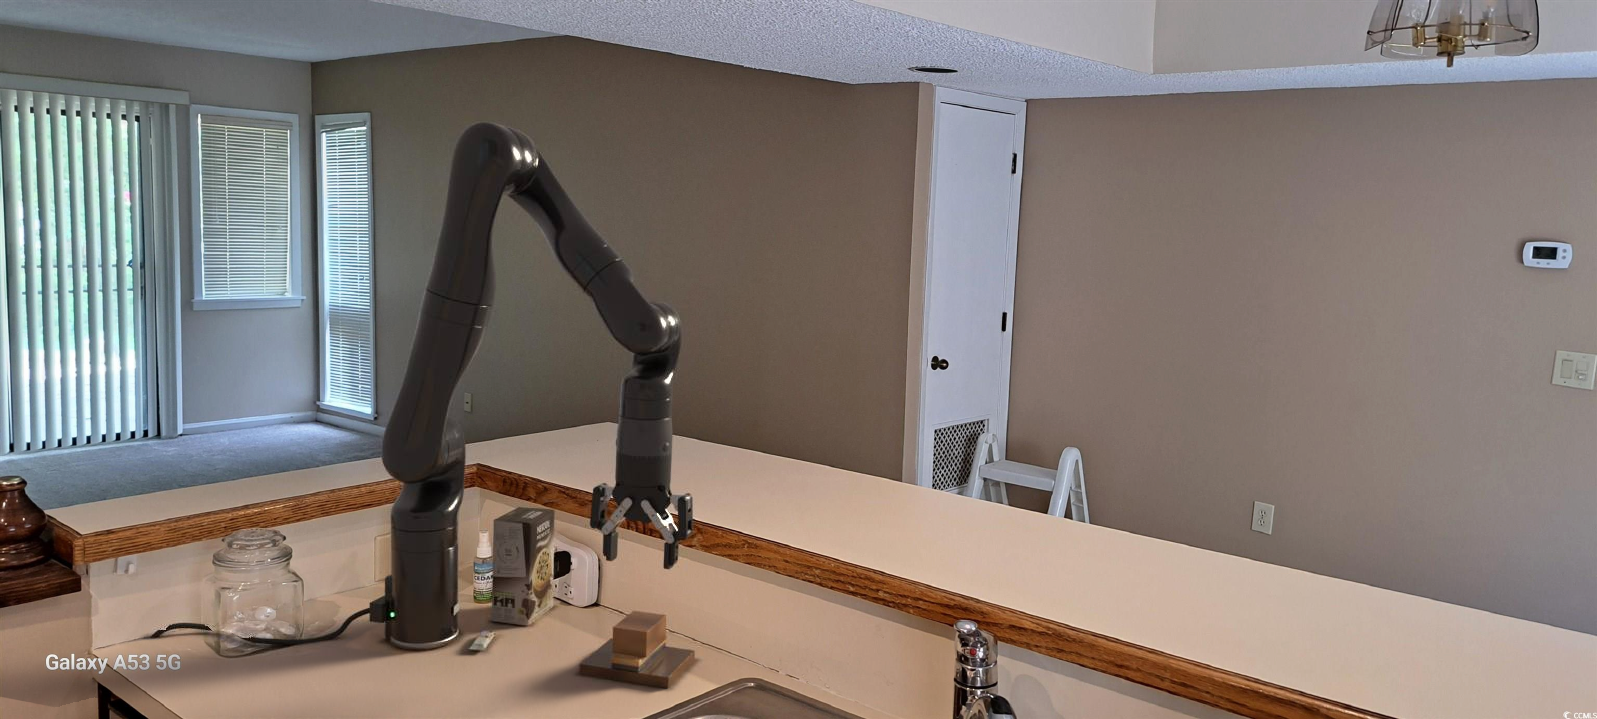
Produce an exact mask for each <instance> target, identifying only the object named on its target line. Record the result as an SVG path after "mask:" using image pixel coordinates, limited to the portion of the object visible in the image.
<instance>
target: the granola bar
mask: <svg viewBox="0 0 1597 719" xmlns="http://www.w3.org/2000/svg"><path fill="white" fill-rule="evenodd" d="M497 634H498V632H494V631H493V630H482V631H481V632H480V633H479V635H478V636H477V637H476V639H475V640H474V641H473V642H472V644H471V645H470V647H468V650H472V651H485V650H486V648H487V646H488V645H489V644H490V643H491V641H492V640H493V638H494V636H495V635H497Z"/></svg>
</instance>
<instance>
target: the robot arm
mask: <svg viewBox="0 0 1597 719" xmlns="http://www.w3.org/2000/svg"><path fill="white" fill-rule="evenodd" d="M503 195H505V196H506V197H507V198H508V199H510V200H511V201H513V202H514V203H515V204H516V205H518V206H519V207H520V208H521V209H522V210H523V211H524V212H525V213H527V215H528V216H529V217H530V218H531V219H532V221H533V222H534V223H535V224H536V226H537V227H538V229H539V230H540V231H541V233H542V235H543V237H544V238H545V241H546V243H547V245H548V247H549V249H550V251H551V253H552V255H553V257H554V258H555V260H556V262H557V263H558V265H559V267H560V268H561V269H562V271H564V273H565V274H566V275H567V277H568V278H569V279H570V280H571V281H572V283H574V285H575V286H576V287H577V288H578V289H579V291H580V292H582V294H584V296H585V297H586V298H587V299H588V300H589V301H590V302H591V303H592V305H593V307H594V309H595V311H596V313H597V315H598V317H599V318H600V320H601V322H602V324H603V325H604V327H605V329H606V330H607V332H608V333H609V335H610V336H611V337H612V339H613V340H614V341H615V342H616V343H617V345H619V346H620V347H621V348H622V349H623V350H624V351H626V352H627V353H629V354H631V355H632V359H631V365H630V369H628V371H627V372H626V374H624V376H623V377H622V379H621V383H620V390H619V416H618V423H617V428H616V439H615V446H616V449H615V470H614V471H615V474H614V475H615V476H614V479H615V484H614V486H611V485H610V486H609V484H607V483H606V482H603V483H600V484H598V485H596V486H594V487H593V488H592V494H591V495H592V496H591V507H590V508H591V509H590V516H589V517H590V518H589V527H590V528H591V529H597V530H598V531H600V532H601V533H602V555H603V557H605V561H606V562H613V561H615V560H616V559H617V557H618V544H619V532H618V531H616V530H617V529H618V527H619V526H620V525H621V524H622V523H623V522H624V521H625V520H626V519H627V521H628V522H640V523H643V524H647V525H649V524H651V523H652V524H653V526H654V527H655V529H656V530H657V531H659V532H660V534H661V535H662V537H663V538H664V540H665V542H664V544H663V545H664V546H663V565H662V566H663V569H664V570H671V569H672V568H673V567H674V566H675V565H676V564H677V563H678V561H679V549H680V548H679V546H680V542H681V541H685V540H687V539H688V538H690V537H691V536H692V535H693V533H694V519H693V518H694V517H693V512H694V511H693V509H694V507H693V506H694V505H693V504H694V503H693V495H692V494H691V493H689V492H687V493H685V494H673V493H672V490H671V482H672V481H671V480H672V459H673V458H672V456H673V437H674V436H673V435H674V434H673V433H674V432H673V421H672V417H673V416H672V414H673V413H672V412H673V411H672V410H673V383H674V379H675V375H676V372H677V368H678V363H679V358H680V354H681V349H682V344H683V343H682V342H683V324H682V321H681V317H680V315H679V313H678V311H677V310H676V309H675V307H674V306H672V305H671V304H670V303H668V302H665V301H662V300H652V301H648V300H646V298H645V297H644V296H643V295H642V294H641V292H640V291H639V290H638V288H637V287H636V285H635V274H634V272H633V270H632V269H631V267H630V266H629V265H628V263H626V261H625V260H624V259H623V258H622V257H621V255H619V254H618V252H617V251H616V250H615V249H614V247H612V246H611V244H610V243H609V242H608V241H607V240H606V239H605V238H604V237H603V236H602V235H601V233H599V231H598V230H597V229H596V228H595V227H594V226H593V224H592V223H591V222H590V221H589V220H588V219H587V217H586V216H585V215H584V213H582V211H581V210H580V209H579V207H578V206H577V205H576V204H575V202H574V201H573V199H572V198H571V197H570V196H569V195H568V193H567V191H566V190H565V189H564V187H563V186H562V184H561V183H560V181H559V180H558V178H557V177H556V175H555V174H554V172H553V170H552V169H551V167H550V166H549V164H548V162H547V161H546V159H545V157H544V155H542V153H541V152H540V149H538V146H536V144H535V142H534V141H533V140H532V139H531V138H530V136H528V135H527V134H526V133H525V132H523V131H521V130H519V129H516V128H514V127H511V126H507V125H503V124H499V123H495V122H491V121H477V122H474V123H472V124H470V125H469V126H467V127H466V128H465V129H464V130H463V131H462V132H461V133H460V134H459V136H458V138H457V140H456V143H455V145H454V148H453V151H452V157H451V161H450V168H449V176H448V183H447V191H446V198H445V205H444V211H443V216H442V222H441V225H440V229H439V234H438V237H437V242H436V246H435V250H434V255H433V259H432V263H431V267H430V270H429V271H430V272H429V275H428V278H427V280H426V284H425V288H424V292H423V296H422V299H421V304H420V308H419V313H418V317H417V321H416V322H417V323H416V327H415V331H414V334H413V339H412V342H411V346H410V351H409V355H408V359H407V363H406V367H405V372H404V376H403V379H402V382H401V385H400V389H399V391H398V394H397V397H396V399H395V402H394V405H393V407H392V410H391V413H390V416H389V418H388V421H387V423H386V426H385V429H384V432H383V435H382V438H381V443H380V458H381V461H382V465H383V468H384V469H385V471H386V472H387V474H388V475H389V476H390V477H391V478H392V479H394V480H395V481H397V482H398V483H402V488H401V491H400V493H399V494H398V496H397V498H396V500H395V501H394V502H393V504H392V506H391V508H390V574H387V576H385V578H384V595H382V596H381V597H378V598H376V599H374V600H372V601H370V602H369V607H367V608H364V609H361V610H359V611H357V612H355V613H353V614H351V615H350V616H348V617H347V618H346V619H345V621H344V622H343V623H342V624H341V626H340V627H339V628H338V629H336V630H335V631H333V632H330V633H328V634H327V633H326V634H325V635H321V636H317V637H312V638H302V639H300V638H299V639H290V638H289V639H288V638H287V639H286V638H271V637H270V638H269V637H256V636H253V637H251V638H250V637H249V638H240V640H243V641H245V642H248V643H252V644H261V645H275V646H276V645H278V646H297V645H305V644H311V643H317V642H323V641H324V642H325V641H328V640H332V639H334V638H337V637H338V636H340V635H342V634H343V633H344V632H345V631H346V630H347V629H348V627H349V625H350V624H352V623H353V621H355V620H357V619H358V618H361V617H363V616H366V615H369V622H371V623H377V624H383V623H384V641H385V642H389V643H390V644H392V645H393V646H395V647H397V648H399V649H405V650H420V651H422V650H431V649H437V648H440V647H445V646H447V645H449V644H451V643H453V642H455V641H456V640H457V639H458V638H459V636H460V634H459V633H460V632H459V630H460V629H459V611H460V610H461V606H462V605H461V600H459V515H460V509H461V506H462V503H463V501H464V495H465V483H466V482H465V481H466V480H465V478H466V460H467V459H466V457H467V455H466V453H467V452H466V450H467V449H466V440H465V434H464V432H463V429H462V427H461V425H460V423H459V422H458V421H457V419H456V418H454V417H453V416H452V415H450V414H449V410H450V406H451V403H452V400H453V396H454V393H455V391H456V389H457V387H458V385H459V383H460V382H461V380H462V378H463V377H464V374H465V373H466V371H467V369H468V368H469V366H470V364H471V362H472V361H473V359H474V357H475V356H476V354H477V352H478V351H479V348H480V346H481V345H482V342H483V340H484V338H485V335H486V332H487V330H488V326H489V321H490V317H491V314H492V310H493V307H494V303H495V297H496V291H497V277H496V276H497V275H496V267H495V258H494V250H493V232H494V225H495V221H496V217H497V213H498V210H499V206H500V203H501V200H502V197H503ZM611 498H612V499H613V500H614V502H615V504H616V506H617V508H616V509H615V511H614V512H613V513H612V514H611V515H610V517H609V518H608V519H607V509H608V501H610V500H611ZM671 505H673V508H674V511H676V512H677V526H676V524H675V522H674V518H673V516H672V515H671V512H670V511H669V510H668V508H669V506H671ZM171 624H172V625H171ZM171 624H168V625H169V626H168V627H167V628H166V630H159V629H157V630H156V631H155V632H153V633H152V634H151V636H150V637H149V638H150V639H156V638H158V637H160V636H161V635H163V634H165V633H167V632H169V631H173V630H179V629H189V630H191V629H192V630H201V631H209V632H210V631H211V632H213V631H212V630H211V629H210V628H209V627H208V626H205V624H204V623H196V622H176V623H171Z"/></svg>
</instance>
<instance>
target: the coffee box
mask: <svg viewBox="0 0 1597 719" xmlns="http://www.w3.org/2000/svg"><path fill="white" fill-rule="evenodd" d="M555 511H556V510H555V509H553V508H541V507H523V506H518V507H516V508H515V509H513V510H511V511H508V512H506V513H504V514H503V515H501V516H499V517H497V518H495V519H493V530H492V531H493V532H492V536H493V537H492V540H493V541H492V586H491V587H492V588H491V589H492V590H491V621H492V622H495V623H497V622H498V623H504V624H511V625H518V626H525V627H527V626H529V625H531V624H532V623H533V622H535V621H536V620H537V619H538V618H539V619H540V617H541V616H542V615H544V614H545V613H546V612H548V611H549V610H551V609H552V608H554V568H555V567H554V558H555V514H556V513H555Z"/></svg>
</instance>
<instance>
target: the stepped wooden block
mask: <svg viewBox="0 0 1597 719" xmlns="http://www.w3.org/2000/svg"><path fill="white" fill-rule="evenodd" d="M612 638H613V647H612V652H613V653H615V654H614V655H612V656H611V657H610V663H612V666H611V668H616V669H622V670H628V671H635V672H639V671H640V670H641V669H642V668H643V667H644V666H645V665H647V664H648V663H649V662H650V661H651V660H652V659H653V658H654V657H655V656H656V655H657V654H658V653H659V652H660V651H661V650H662V649H663V648H664V647H665V646H667V645H666V643H667V641H668V635H667V614H661V613H654V612H646V611H640V610H632V611H631V612H630V613H629V614H628V615H626V616H625V617H624V618H623V619H622V620H619V622H617V623H616V624H615V625H614V626H613V627H612Z"/></svg>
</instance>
